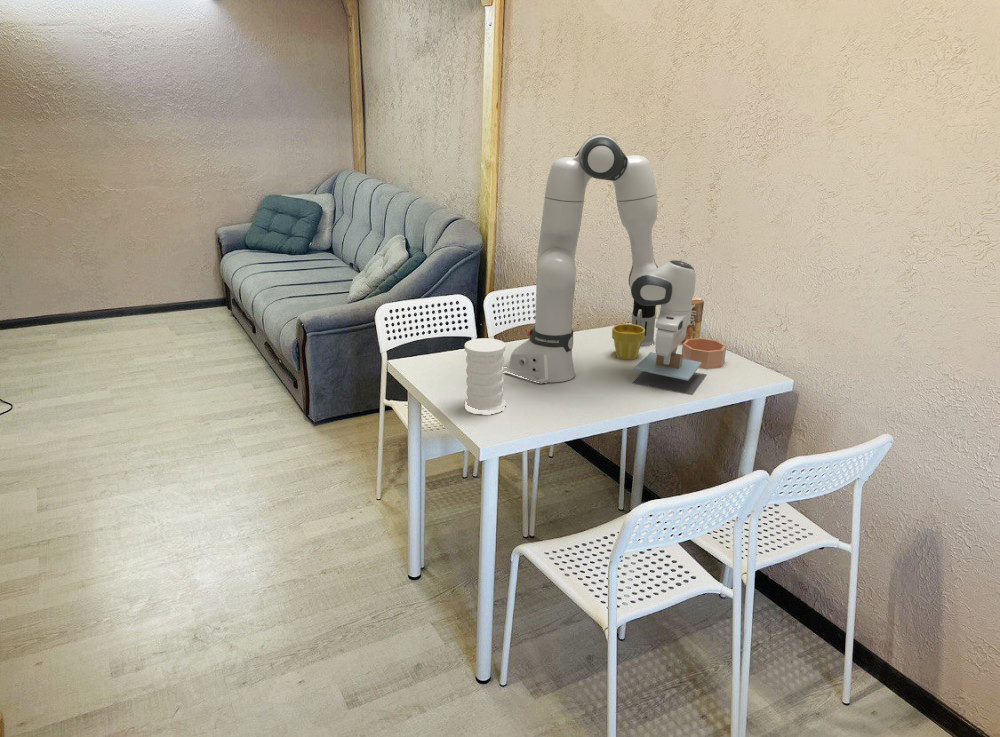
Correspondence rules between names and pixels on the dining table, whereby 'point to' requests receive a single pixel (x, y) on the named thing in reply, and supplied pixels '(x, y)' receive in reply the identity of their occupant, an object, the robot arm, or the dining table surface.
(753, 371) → the dining table surface
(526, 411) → the dining table surface
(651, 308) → the glass holder
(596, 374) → the dining table surface
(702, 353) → the bowl
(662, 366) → the sheet
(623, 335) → the plant pot
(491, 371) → the decorative container
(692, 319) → the candy box
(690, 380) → the mat
